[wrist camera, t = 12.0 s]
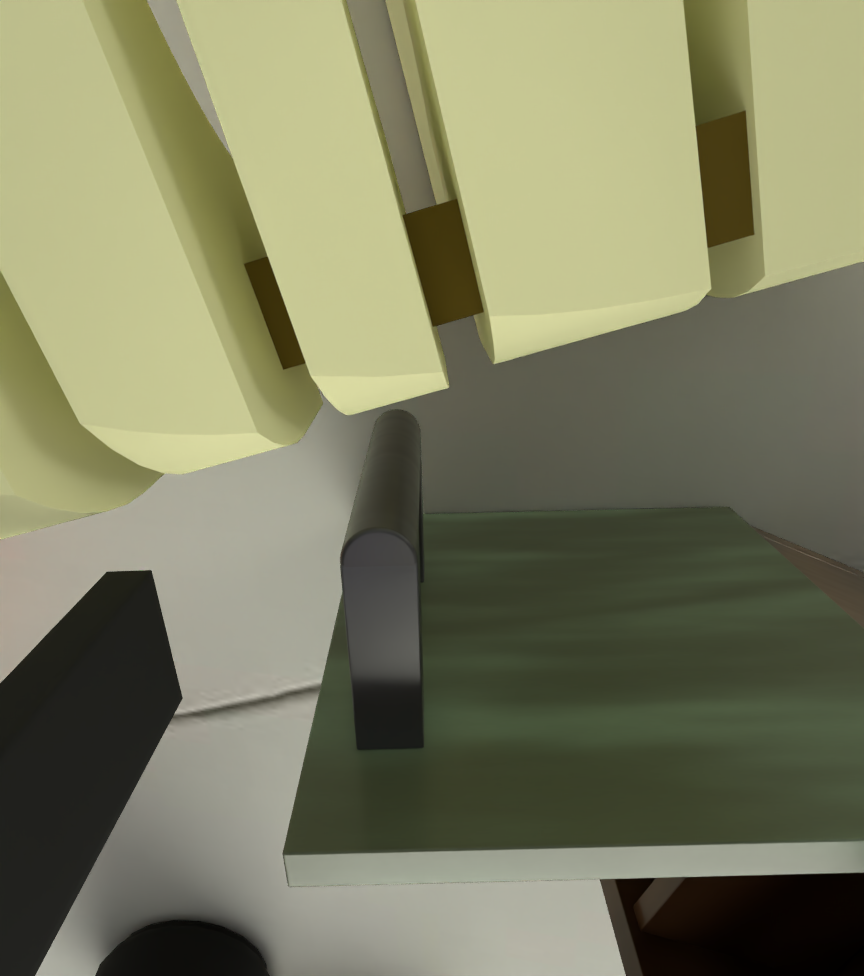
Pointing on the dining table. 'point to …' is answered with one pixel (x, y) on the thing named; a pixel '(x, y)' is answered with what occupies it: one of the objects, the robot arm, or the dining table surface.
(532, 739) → the door
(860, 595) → the cupboard
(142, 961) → the coffee jar
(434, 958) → the dining table surface
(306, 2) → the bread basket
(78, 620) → the robot arm
